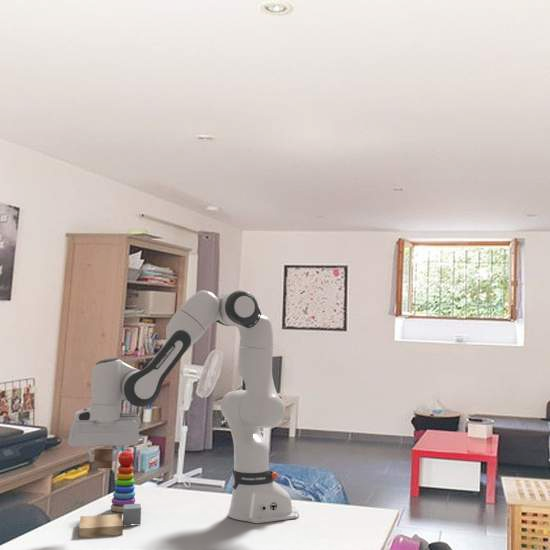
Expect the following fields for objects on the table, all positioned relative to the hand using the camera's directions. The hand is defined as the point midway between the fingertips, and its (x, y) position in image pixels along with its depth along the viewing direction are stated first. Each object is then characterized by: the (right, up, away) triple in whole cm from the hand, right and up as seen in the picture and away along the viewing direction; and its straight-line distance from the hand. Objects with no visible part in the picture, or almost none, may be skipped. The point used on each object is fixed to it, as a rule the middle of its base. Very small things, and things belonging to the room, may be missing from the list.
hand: (103, 461), depth 188 cm
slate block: (+7, -21, +5) cm, 22 cm away
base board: (0, -20, -2) cm, 20 cm away
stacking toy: (+1, -22, +19) cm, 29 cm away
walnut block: (0, -2, 0) cm, 2 cm away
